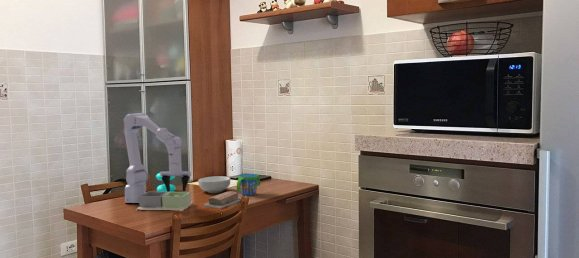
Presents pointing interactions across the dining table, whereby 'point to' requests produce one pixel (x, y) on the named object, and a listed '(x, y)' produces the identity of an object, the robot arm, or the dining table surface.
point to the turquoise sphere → (162, 187)
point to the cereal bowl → (214, 184)
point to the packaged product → (223, 200)
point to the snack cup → (248, 184)
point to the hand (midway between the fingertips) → (176, 191)
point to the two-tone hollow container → (165, 201)
